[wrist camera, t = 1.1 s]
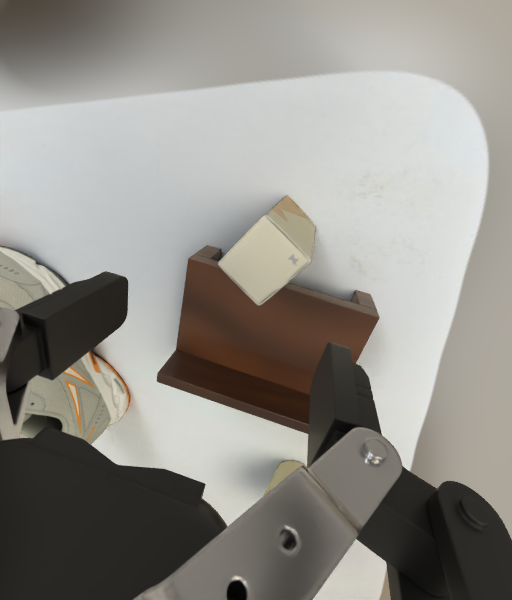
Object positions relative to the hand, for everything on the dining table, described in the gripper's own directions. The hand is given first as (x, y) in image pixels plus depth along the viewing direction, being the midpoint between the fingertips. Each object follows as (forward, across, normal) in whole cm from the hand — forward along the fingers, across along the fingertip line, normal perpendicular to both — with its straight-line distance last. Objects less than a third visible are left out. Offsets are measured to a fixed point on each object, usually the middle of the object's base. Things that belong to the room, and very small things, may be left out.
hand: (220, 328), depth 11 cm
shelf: (+20, -2, +10) cm, 22 cm away
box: (+20, 0, 0) cm, 20 cm away
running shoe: (+20, +25, +22) cm, 39 cm away
